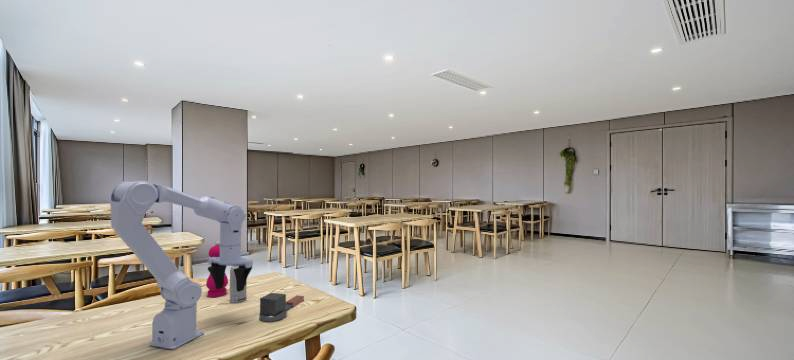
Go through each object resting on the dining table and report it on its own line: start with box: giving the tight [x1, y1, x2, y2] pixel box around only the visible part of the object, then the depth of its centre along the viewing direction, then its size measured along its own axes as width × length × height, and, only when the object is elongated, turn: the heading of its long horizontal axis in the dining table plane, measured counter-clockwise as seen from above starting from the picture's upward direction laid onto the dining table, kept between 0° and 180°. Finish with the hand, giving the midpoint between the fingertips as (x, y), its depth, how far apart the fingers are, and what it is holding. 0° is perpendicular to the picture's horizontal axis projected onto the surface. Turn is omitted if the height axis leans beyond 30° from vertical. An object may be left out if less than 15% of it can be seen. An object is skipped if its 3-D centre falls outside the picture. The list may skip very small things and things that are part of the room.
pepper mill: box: [205, 240, 229, 298], centre depth 122 cm, size 7×7×20 cm
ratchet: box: [259, 294, 305, 323], centre depth 108 cm, size 20×8×4 cm, turn 165°
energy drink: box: [229, 266, 248, 304], centre depth 116 cm, size 5×5×12 cm
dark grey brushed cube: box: [259, 292, 287, 317], centre depth 102 cm, size 5×5×5 cm
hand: (229, 289), depth 99 cm, fingers open, 7 cm apart
